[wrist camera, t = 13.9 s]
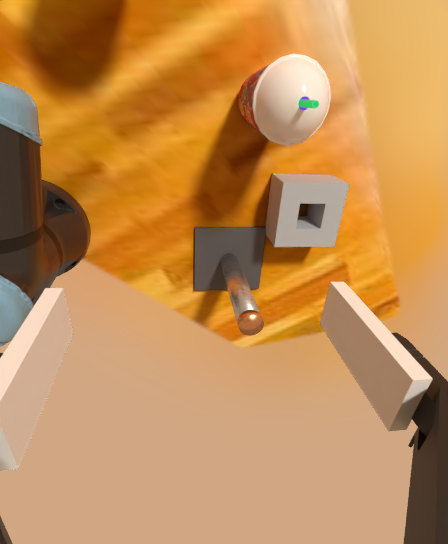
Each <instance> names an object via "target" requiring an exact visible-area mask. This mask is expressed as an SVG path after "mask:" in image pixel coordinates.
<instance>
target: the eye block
mask: <svg viewBox="0 0 448 544" xmlns="http://www.w3.org/2000/svg"><path fill="white" fill-rule="evenodd" d="M348 188H349V183H347V182H345V181H343V180H341V179H339V178H337V177H335V176H333V175H322V174H283V173H272V177H271V186H270V194H269V202H268V210H267V218H266V226H265V227H266V235H267V237H268V238H269V240H270V241H271V243H272V244H273V246H274V247H333V246H335V242H336V238H337V233H338V229H339V225H340V221H341V217H342V213H343V208H344V204H345V200H346V196H347V192H348ZM300 203H303V204H309V205H308V210H307V215H306V216H298V214H299V208H300Z"/></svg>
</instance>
